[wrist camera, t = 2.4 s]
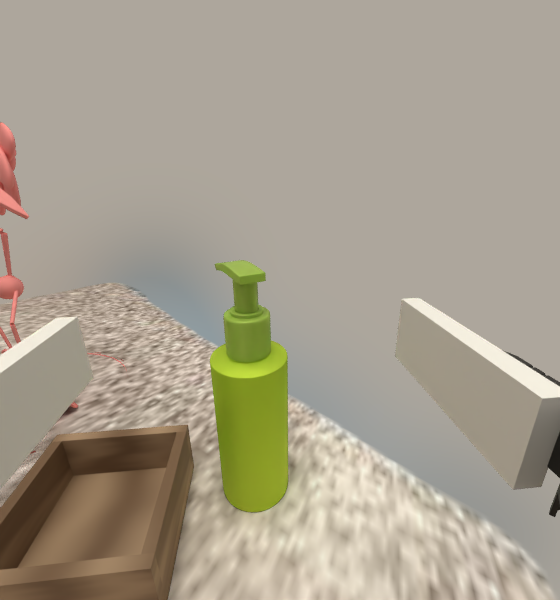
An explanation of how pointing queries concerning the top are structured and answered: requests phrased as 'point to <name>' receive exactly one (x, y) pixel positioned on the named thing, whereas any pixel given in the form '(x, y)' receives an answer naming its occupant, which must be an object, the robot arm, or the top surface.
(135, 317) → the top surface
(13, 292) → the figurine
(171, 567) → the walnut caddy
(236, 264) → the soap dispenser
